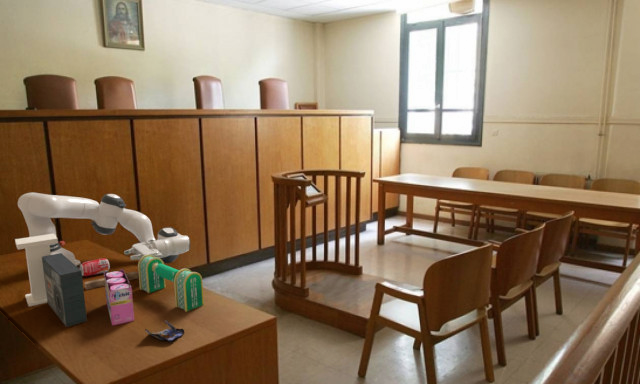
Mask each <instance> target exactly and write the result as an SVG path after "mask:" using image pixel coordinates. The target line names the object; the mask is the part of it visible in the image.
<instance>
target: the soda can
mask: <svg viewBox="0 0 640 384" xmlns="http://www.w3.org/2000/svg"><path fill="white" fill-rule="evenodd" d="M110 268H111V266H110V262H109V260H108V259H107V258H106V257H104V258H98V259H97V258H96V259H92V260H88V261H84V262H82V263H81V264H79V269H80V270H81V271H82V277H83V276H84V277H90V276H95V275H100V274H104V272H107V273H109V270H110Z"/></svg>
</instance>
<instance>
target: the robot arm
mask: <svg viewBox="0 0 640 384" xmlns="http://www.w3.org/2000/svg"><path fill="white" fill-rule="evenodd" d="M17 200H18V201H17V207H18V209H19V210H20V211H21V213H22V215H23V218H24V220H25V221H24V222H25V223H26V226H27V229H28V234H29V235H28V236H29V237H34V236H40V235H47V234H55V236H56V237H57V230H56V226H55V224H54V223H53V221H52V219H59V218H60V219H61V218H62V219H81V220H82V219H87V220H88V219H89V220H92V221H91V222H90V224H91V226H92V227H93V229H94V230H95V232H96V233H98V234H101V235H104V236H105V235H106V236H107V235H112V234H114V233H115V231H116V229H117V226H118V223H119V224H120V226H122V227H123V228H124V229H126V230H127V231H128V232H130V233H132V234H133V235H134V236H135V237H136V239H138V241H139V242H137V243H134V244H132V246H131V248H129V249H127V250H124V251H123V252H124V255H125V256H128V255H129V260H131V261H135V260H138V261H139V260H140V259H141V258H142V257H143V256H145V255H152V256H154V257H155V258H160V259H161V260H162V261H163V263H164V264H172V263H173V262H175V261H176V260H177V258H179V255H181V254H184V253H186V252H189V250H190V249H191V240H190V237H189V236H188V235H182V234H180V233H178V230H176V229H175V228H174V227H170V226H169V227H167V226H166V227H163V228H161V229H160V230H159V231H157V239H156V238H155V236H154V231H153V225H152V221H151V220H150V218H149V217H148V216H147V215H145V214H144V213H142V212H140V211H136V210H134V209H128V208H125V207H127V204H126V203H125V201H124V199H123V198H122V197H120V196H119V195H117V194H114V193H106V194H104V195H103V196H102V197H101V199H100V203H99V202H98V201H97V200H93V199H91V198H85V197H78V196H70V195H56V194H55V195H54V194H46V193H39V192H27V193H24V194H22V195H20V197H18V199H17ZM49 245H50V253H51V255H53V254H59V253H62V254H63V255H64V256H65V257H66V258H67V259H69V260H70V261H71V262H72V263H73V264H74V265H76V266H77V267H78V266H80V264H82V263H81V260H78V259H76V257H75V255H74V253H73V252H72V251H70V250H67V249H66V248H64V247H62V246H64V245H66V242H65V241H64V240H60V241H59V240H58V243H56V244H49ZM130 254H132V255H130Z"/></svg>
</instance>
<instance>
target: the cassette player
mask: <svg viewBox="0 0 640 384" xmlns="http://www.w3.org/2000/svg"><path fill="white" fill-rule="evenodd" d="M42 262H43V270H44V278H45V286H46V294H47V304H48V306H50V309H52V311H53V312H54V313H55V315H56V316H57V317H58V318H59V320H60V321H61V322H62V324H63V325H64V326H65V327H66V328H69V327H71V326H76V325H78V324H81V323H85V322H87V321H88V318H87V310H86V308H87V307H86V302H85V301H86V300H85V291H84V289H85V288H84V283H83V276H82V271H81V270H80V267H78V265H77V266H76V265H74V264H73V263H72V262H71V261H70V260H69V259H67V258H66V257H65V256H64V255H63V254H62V253H59V254H53V255H48V256H43V257H42Z"/></svg>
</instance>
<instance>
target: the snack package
mask: <svg viewBox="0 0 640 384" xmlns="http://www.w3.org/2000/svg"><path fill="white" fill-rule="evenodd" d="M164 323H165V324H166V325H167V326H168V328H165V329H163V330H161V331H159V329H156V330H157V332H156V333H155V332H151V331H149V330H148V329H146V328H145V329H144V331H145V332H146V333H147V334H148V335H149V336H152V337H154V338H156V339H158V340H161V341H168V342H169V343H172V342H173V341H174V340H175V339H179V338H181V337H183V335H184V333H185V329H184V328H176V327H175V326H174V325H173V324H172V323H170V322H168V321H167V320H166V319H165V320H164ZM162 335H165V336H168V337H169V338H167V337H165V336H162Z"/></svg>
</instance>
